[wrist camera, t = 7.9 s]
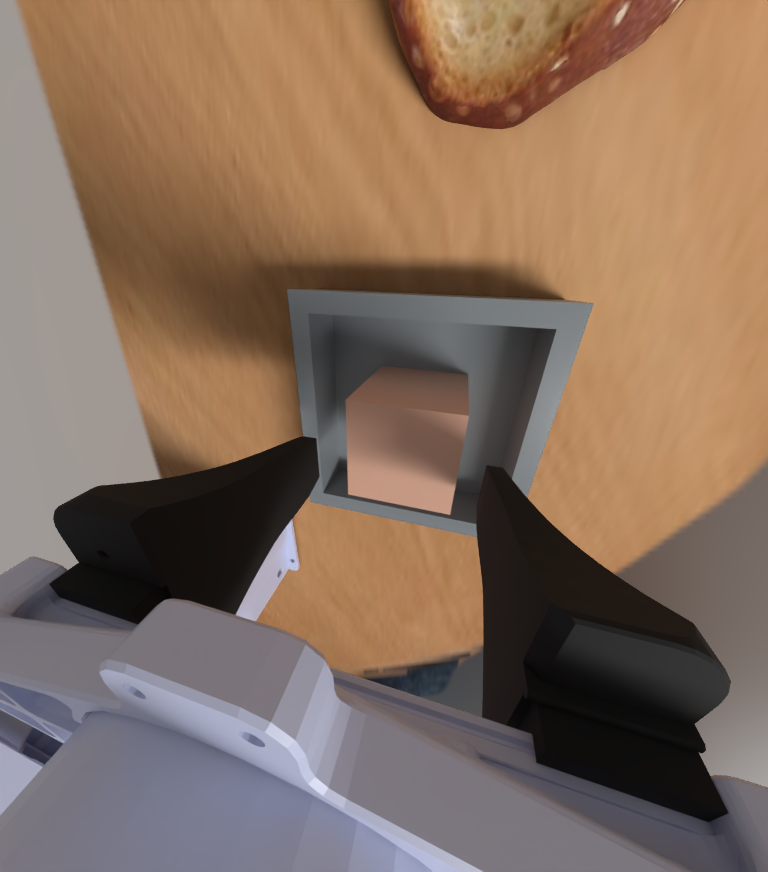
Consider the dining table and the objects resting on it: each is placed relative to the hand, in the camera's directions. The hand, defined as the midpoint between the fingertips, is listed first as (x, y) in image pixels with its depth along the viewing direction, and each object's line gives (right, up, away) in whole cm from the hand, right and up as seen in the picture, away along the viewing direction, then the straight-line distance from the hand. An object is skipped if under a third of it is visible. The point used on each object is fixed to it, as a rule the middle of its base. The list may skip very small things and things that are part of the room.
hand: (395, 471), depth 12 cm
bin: (+2, +3, +6) cm, 7 cm away
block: (+2, +3, +6) cm, 7 cm away
